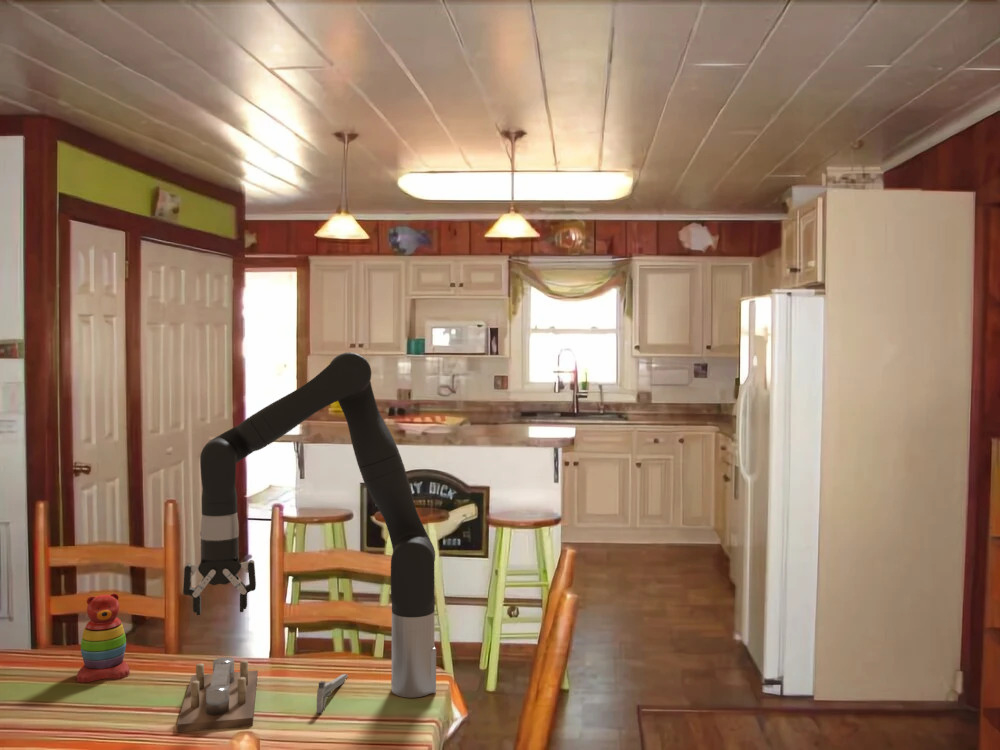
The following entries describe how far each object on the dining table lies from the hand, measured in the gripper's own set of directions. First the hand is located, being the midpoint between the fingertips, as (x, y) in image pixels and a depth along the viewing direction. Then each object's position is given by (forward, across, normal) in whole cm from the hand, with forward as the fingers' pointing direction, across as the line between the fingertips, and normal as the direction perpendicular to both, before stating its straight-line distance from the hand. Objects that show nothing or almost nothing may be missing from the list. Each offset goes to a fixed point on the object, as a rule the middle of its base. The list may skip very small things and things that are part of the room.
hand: (220, 612), depth 182 cm
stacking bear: (+19, +27, -23) cm, 40 cm away
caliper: (+20, -23, +1) cm, 30 cm away
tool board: (+19, 0, 0) cm, 19 cm away
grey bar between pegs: (+17, 0, 0) cm, 17 cm away
